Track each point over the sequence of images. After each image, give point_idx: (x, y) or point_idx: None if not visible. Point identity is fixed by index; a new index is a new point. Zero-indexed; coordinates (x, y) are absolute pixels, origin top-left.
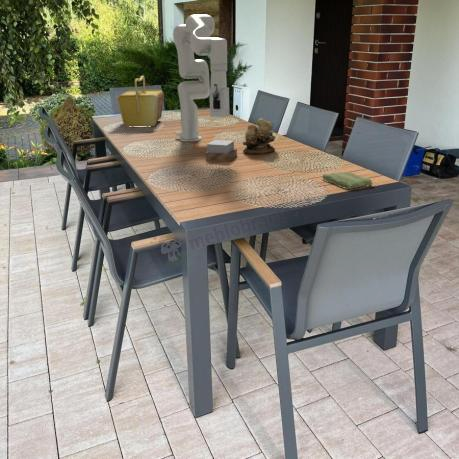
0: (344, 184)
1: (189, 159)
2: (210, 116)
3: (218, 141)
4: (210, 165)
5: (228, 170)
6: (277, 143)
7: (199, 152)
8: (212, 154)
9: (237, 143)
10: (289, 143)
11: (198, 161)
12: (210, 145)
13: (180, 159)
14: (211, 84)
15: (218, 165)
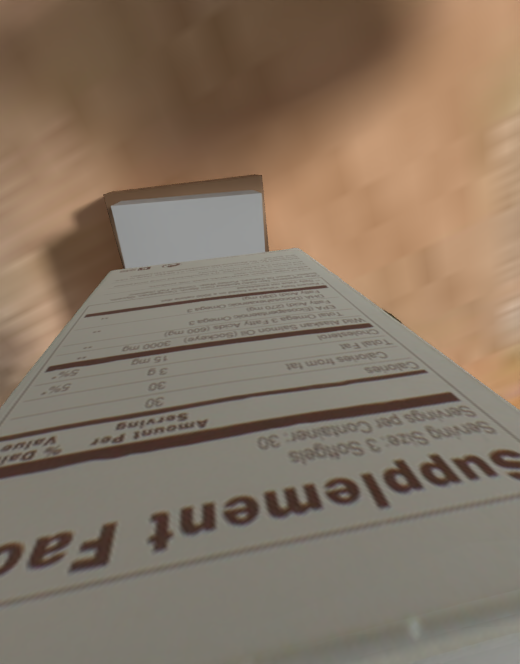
0: None
1: (66, 78)
2: (107, 274)
3: (218, 245)
4: (25, 273)
5: (3, 386)
6: (516, 364)
7: (260, 57)
8: (118, 241)
9: (512, 194)
10: (517, 401)
11: (57, 166)
12: (118, 231)
13: (27, 5)
14: None
15: (51, 309)
